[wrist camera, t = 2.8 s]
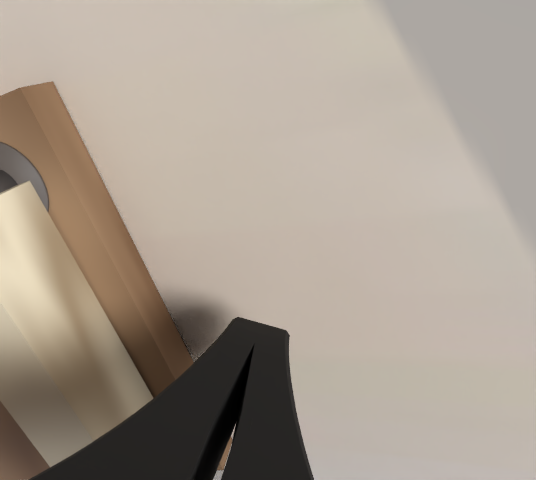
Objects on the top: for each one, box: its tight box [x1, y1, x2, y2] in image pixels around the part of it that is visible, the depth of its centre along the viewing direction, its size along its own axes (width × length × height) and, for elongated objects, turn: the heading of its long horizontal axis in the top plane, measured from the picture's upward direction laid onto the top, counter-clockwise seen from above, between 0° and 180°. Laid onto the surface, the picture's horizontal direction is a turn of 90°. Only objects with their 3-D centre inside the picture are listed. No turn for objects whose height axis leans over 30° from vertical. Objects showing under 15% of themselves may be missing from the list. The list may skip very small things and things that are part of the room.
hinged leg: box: [0, 170, 153, 467], centre depth 11 cm, size 9×2×3 cm, turn 19°
